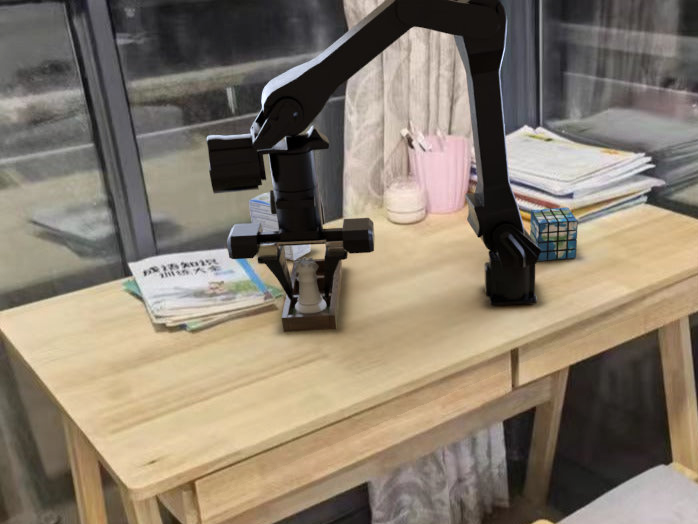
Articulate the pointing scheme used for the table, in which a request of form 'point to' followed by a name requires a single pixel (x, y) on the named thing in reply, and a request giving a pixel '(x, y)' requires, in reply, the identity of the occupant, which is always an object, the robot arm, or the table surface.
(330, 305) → the tray
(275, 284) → the table surface
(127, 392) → the table surface
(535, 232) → the puzzle
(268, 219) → the medicine box
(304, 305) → the rook chess piece
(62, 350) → the table surface
